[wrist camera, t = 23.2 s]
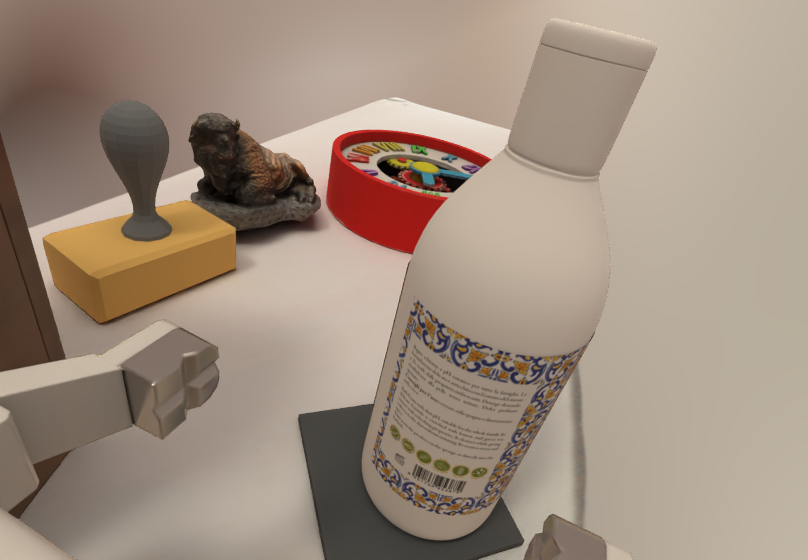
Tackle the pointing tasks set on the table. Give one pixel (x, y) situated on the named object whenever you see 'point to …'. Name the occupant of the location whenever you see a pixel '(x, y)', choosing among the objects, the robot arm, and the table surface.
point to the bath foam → (502, 293)
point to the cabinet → (23, 304)
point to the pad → (357, 514)
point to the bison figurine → (247, 177)
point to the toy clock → (394, 183)
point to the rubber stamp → (138, 229)
